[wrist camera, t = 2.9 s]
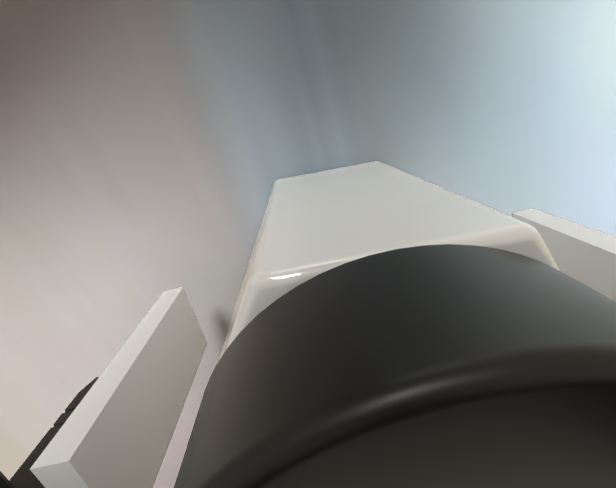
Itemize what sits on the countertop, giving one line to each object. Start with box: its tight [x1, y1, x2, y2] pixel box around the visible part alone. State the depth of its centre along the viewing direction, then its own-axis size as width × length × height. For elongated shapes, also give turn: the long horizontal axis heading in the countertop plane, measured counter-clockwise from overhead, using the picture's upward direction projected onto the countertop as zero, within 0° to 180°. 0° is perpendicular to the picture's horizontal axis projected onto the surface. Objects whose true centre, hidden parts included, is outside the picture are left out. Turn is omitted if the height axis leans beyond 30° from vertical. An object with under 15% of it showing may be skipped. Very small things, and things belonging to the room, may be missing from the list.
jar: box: [174, 161, 616, 488], centre depth 9 cm, size 9×8×12 cm
